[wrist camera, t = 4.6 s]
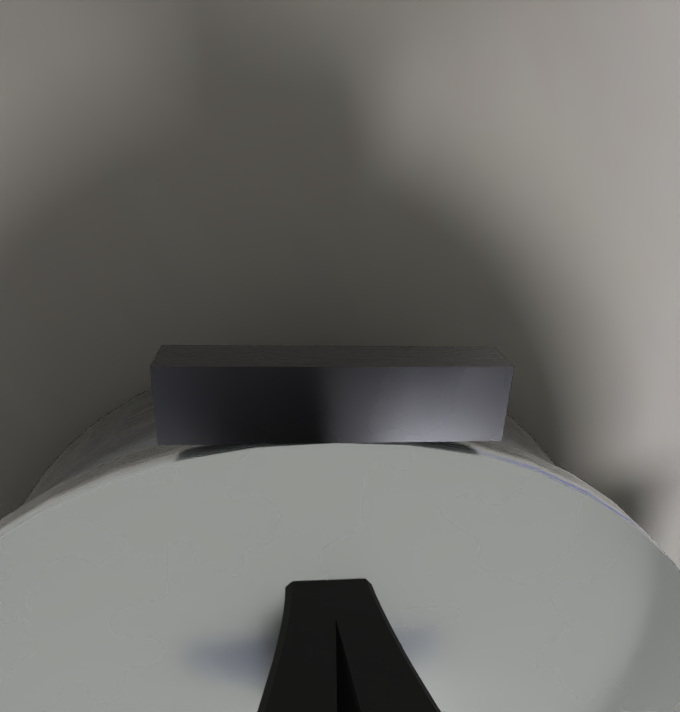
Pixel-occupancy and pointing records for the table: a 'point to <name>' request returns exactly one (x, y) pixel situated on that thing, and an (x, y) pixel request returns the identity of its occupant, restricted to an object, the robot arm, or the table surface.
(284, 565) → the lid
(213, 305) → the table surface
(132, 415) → the cooker pot
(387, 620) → the robot arm
